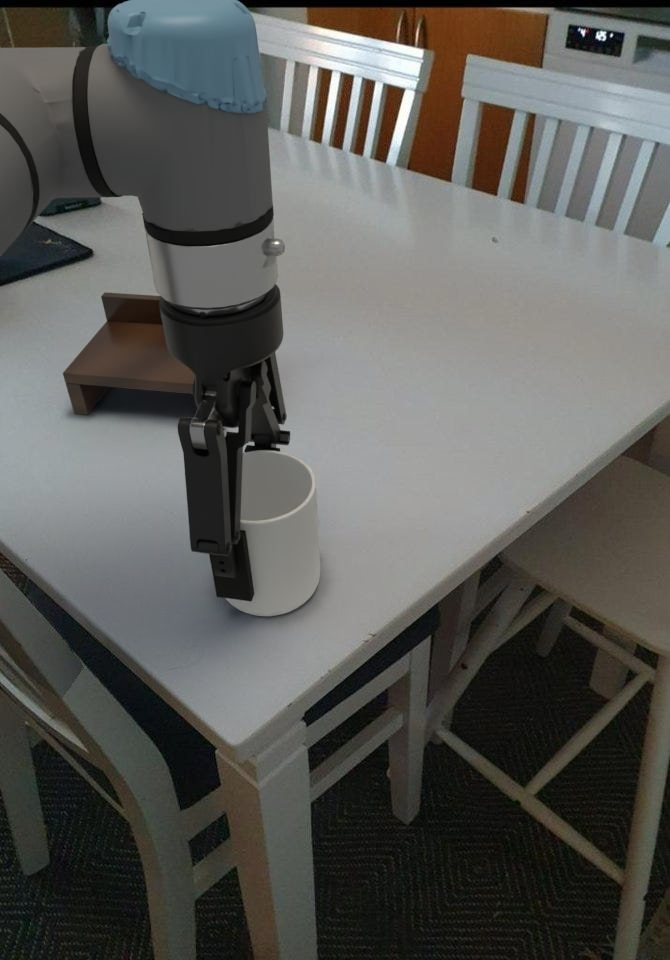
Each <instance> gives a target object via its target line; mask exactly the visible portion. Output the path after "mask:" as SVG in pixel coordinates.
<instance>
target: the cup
mask: <svg viewBox="0 0 670 960" xmlns="http://www.w3.org/2000/svg"><path fill="white" fill-rule="evenodd" d="M240 530H245V531H246V537H247V544H248V551H249V559H250V566H251V573H252V581H253V588H254V596H253V599H252V602H251V601H244V600H236V599H229V598H224V599H225V600H226V602H228V603H229V604H230V605H231V606H232V607H234V608H235V609H237V610H239V611H240V612H243V613H245V614H248V615H252V616H256V617H274V616H280V615H281V616H282V615H284V614H288V613H290V612H292V611H294V610H296V609H298V608H299V607H301V606H303V605H304V604H305V603H306V602H307V601H309V599H310V598H311V597H313V595H314V593H315V591H316V590H317V587H318V585H319V582H320V578H321V552H320V535H319V531H320V530H319V517H318V495H317V480H316V476H315V473H314V472H313V470H312V468H311V467H310V466H309V465H308V463H306V462H305V460H302V459H300V458H299V457H297V456H295V455H293V454H290V453H287V452H285V451H284V452H283V451H280V452H279V451H271V450H258V451H250V452H243V462H242V489H241V517H240Z"/></svg>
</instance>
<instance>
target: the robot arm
mask: <svg viewBox="0 0 670 960" xmlns="http://www.w3.org/2000/svg"><path fill="white" fill-rule="evenodd" d="M107 30H108V37H107V40H106V43H101V44H100V45H97V46H82V47H81V46H79V47H78V46H77V47H75V46H72V47H71V46H70V47H66V46H65V47H63V46H61V47H59V46H58V47H56V46H55V47H0V258H1V257H2V256H3V254H4V253H5V252H6V251H7V250H8V249H9V248H10V247H11V246H12V244H13V243H14V242H15V241H16V240H17V239H18V238H19V237H20V236H21V235H23V233H24V232H25V231H27V229H28V228H29V227H30V226H31V225H32V224H33V223H34V221H36V219H37V218H38V217H39V216H40V215H41V213H43V211H44V210H45V209H46V208H47V207H48V206H49V205H50V204H51V202H52V201H53V200H55V199H81V198H121V197H137V200H138V203H139V206H140V208H141V211H142V213H141V215H142V220H143V227H144V232H145V237H146V243H147V250H148V254H149V262H150V266H151V272H152V279H153V284H154V288H155V292H156V294H158V296H161V297H160V300H159V308H160V313H161V318H162V324H163V329H164V335H165V340H166V345H167V349H168V351H169V353H170V354H171V355H172V356H173V357H174V358H175V359H176V360H177V361H178V362H180V363H182V364H183V365H185V366H186V367H187V368H189V369H190V370H191V371H192V372H193V373H194V374H195V379H194V383H193V394H192V401H193V402H194V404H195V407H196V408H195V409H196V410H195V414H194V416H193V417H188V416H180V418H179V419H178V422H177V434H178V439H179V441H180V442H179V443H180V445H181V449H182V453H183V467H184V479H185V490H186V492H185V493H186V503H187V516H188V517H187V518H188V529H189V530H188V531H189V542H190V551H191V552H193V553H198V554H206V555H208V556H209V561H210V567H211V572H212V573H211V574H212V579H213V585H214V589H215V595H216V598H222V599H225V598H229V599H236V600H244V601H251V602H252V599H253V596H254V588H253V581H252V573H251V566H250V559H249V551H248V544H247V537H246V531H245V530H240V517H241V489H242V462H243V453H245V452H250V451H258V450H271V451H279V452H281V448H280V447H277V445H280V446H290V445H289V444H290V442H291V431H290V430H282V429H281V427H280V425H282V426H283V425H285V423H286V421H287V416H288V415H287V412H286V406H285V399H284V394H283V388H282V382H281V378H280V372H279V366H278V361H277V355H276V354H277V353H276V352H277V351H278V349H279V348H280V346H281V344H282V342H283V339H284V321H283V309H282V297H281V296H282V295H281V289H280V288H279V286H278V285H277V283H278V278H279V267H278V259H277V257H279V256H282V255H283V254H284V253H285V249H286V245H285V242H284V241H283V239H281V238H275V220H274V219H275V218H274V216H275V215H274V214H275V213H274V204H273V203H274V201H273V188H272V187H273V186H272V171H271V155H270V139H269V138H270V137H269V126H268V124H269V123H268V108H267V107H268V106H267V105H268V104H267V103H268V92H267V90H266V89H265V87H264V80H263V73H262V66H261V65H262V64H261V58H260V49H259V42H258V33H257V27H256V21H255V19H254V16H253V15H252V13H251V11H250V10H249V9H248V8H247V6H245V5H244V4H243V3H242V2H240V1H239V0H127V1H123V2H121V3H118V4H116V6H114V7H113V8H112V9H111V11H110V12H109V14H108V18H107ZM226 428H231V429H235V428H237V429H238V431H237V432H235V431H228V430H227V429H226ZM249 443H253V444H254V445H253V444H249ZM245 445H246V446H245ZM244 447H245V448H244Z"/></svg>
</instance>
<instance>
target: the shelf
mask: <svg viewBox="0 0 670 960" xmlns="http://www.w3.org/2000/svg"><path fill="white" fill-rule="evenodd" d="M100 297H101V302H102V306H103V310H104V315H105V319H106V322H105V323H104V324H103V325H102V326H101V327H100V328H99V330H97V332H96V333H95V334H94V335H93V337H92V338H91V339H90V340H89V342H88V343H87V344H86V345H85V346H84V347H83V348H82V350H81V351H80V352H79V353H78V354H77V356H76V357H75V358H74V359H73V360H72V361H71V363H70V364H69V365H68V366H67V368H65V370H64V371H63V372H62V376H63V379H64V383H65V386H66V390H67V393H68V398H69V400H70V403H71V407H72V411H73V414H76V415H85V416H86V415H87V416H88V415H89V414H90V413H91V412H92V411H93V409H94V408H95V406H96V405H97V404H98V402H99V401H100V400H101V399H102V398H103V396H104V394H105V393H106V392H107V390H108V389H109V388H121V389H132V390H144V391H155V392H167V393H178V394H190V395H193V383H194V379H195V374H194V373H193V372H192V371H191V370H190V369H189V368H187V367H186V366H185V365H183V364H182V363H180V362H178V361H177V360H176V359H175V358H174V357H173V356H172V355H171V354H170V353H169V351H168V349H167V345H166V340H165V335H164V329H163V324H162V318H161V313H160V308H159V300H160V297H161V296H160V295H152V294H136V293H122V292H121V293H120V292H104V293H102V295H100Z"/></svg>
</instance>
